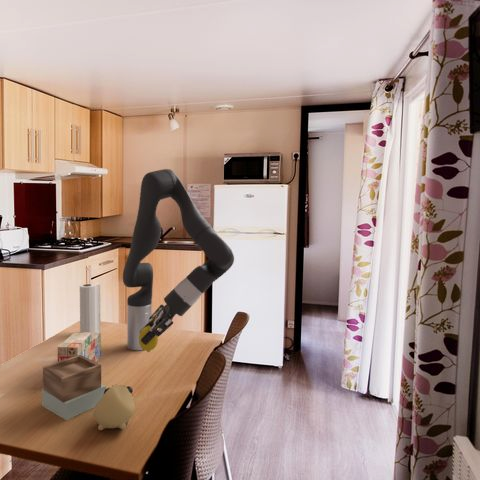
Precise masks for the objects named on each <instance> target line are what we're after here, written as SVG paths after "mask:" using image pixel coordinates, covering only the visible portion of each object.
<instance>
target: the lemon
mask: <svg viewBox="0 0 480 480" xmlns="http://www.w3.org/2000/svg"><path fill="white" fill-rule="evenodd" d="M151 328H152V327H150V326H147V327H145V328H143V329H142V330H141V332H140V335H139V344H140V346H141V348H142V349H143V350H142V351H146V352H147V353H149V352H151V351H152V350H154V349H155V348H156V347H157V345H158V343H159V337H158V336H155V337H154V338H153V339H152V340H151V341H150V342H149V343H148V344H147V345H145V344H143V343H142V342H141V338H142V337H143V336H144V335H145V334H146V333H147V332H148V331H149V330H150V329H151Z"/></svg>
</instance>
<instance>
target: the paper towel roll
mask: <svg viewBox="0 0 480 480" xmlns="http://www.w3.org/2000/svg"><path fill="white" fill-rule="evenodd" d="M101 324H102V323H101V284H96V285H95V284H92V283H85V284H84V283H83V284H80V285H79V329H80V330H79V333H84V332H99V333H102V331H101V326H102V325H101Z"/></svg>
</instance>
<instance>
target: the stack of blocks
mask: <svg viewBox="0 0 480 480" xmlns="http://www.w3.org/2000/svg"><path fill="white" fill-rule="evenodd" d="M101 333H102V332H84V333H80V332H72V334H71V335H69V336H68V337H67V338H66V339H65V340H64V341H63V342H62V343H60V344H58V346H57V362H59V361H62V360H65V359H68V358H72V357H75V356H78V355H82V356H84V357H86V358H88V359H90V360H92V361H94V362H96V363H98V361H99V360H100V358H101V357H102V341H101V340H102V339H101V338H102V336H101V335H102V334H101Z"/></svg>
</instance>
